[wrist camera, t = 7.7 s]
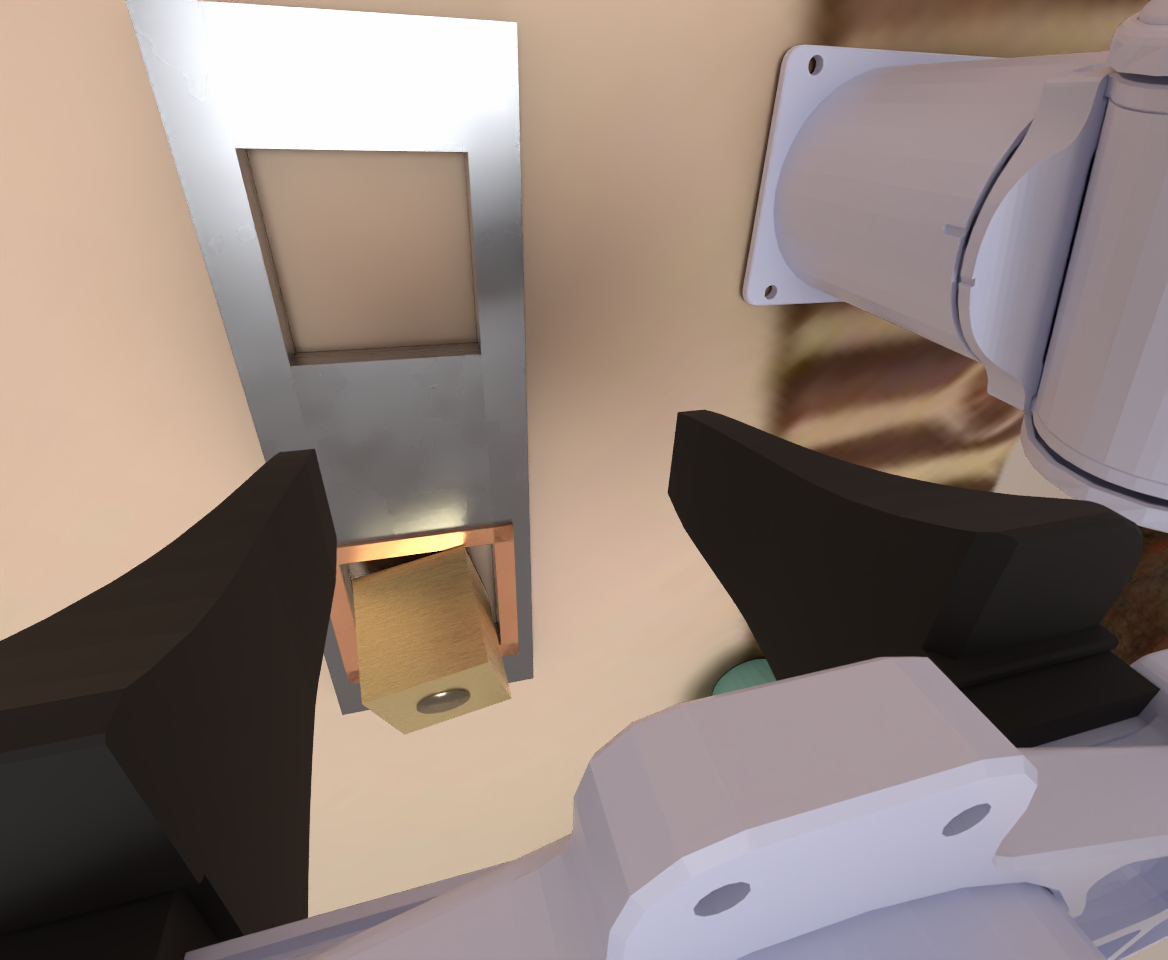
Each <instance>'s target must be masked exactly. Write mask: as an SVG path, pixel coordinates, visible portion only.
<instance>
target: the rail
mask: <svg viewBox="0 0 1168 960" xmlns="http://www.w3.org/2000/svg"><path fill="white" fill-rule="evenodd" d="M125 1H126V4H127V7H128V11H129V14H130V17H131V20H132V24H133V27H134V30H135V34H136V37H137V40H138V44H139V47H140V50H141V53H142V57H143V60H144V63H145V67H146V70H147V73H148V76H149V80H150V83H151V86H152V90H153V93H154V96H155V99H156V103H157V106H158V109H159V113H160V116H161V119H162V123H163V126H164V129H165V132H166V136H167V139H168V142H169V146H170V149H171V152H172V155H173V159H174V162H175V165H176V169H177V172H178V175H179V178H180V182H181V185H182V188H183V192H184V195H185V198H186V201H187V205H188V208H189V211H190V215H191V218H192V221H193V225H194V228H195V231H196V234H197V238H198V241H199V244H200V248H201V251H202V254H203V257H204V261H205V264H206V267H207V271H208V274H209V277H210V280H211V284H212V287H213V290H214V294H215V297H216V300H217V304H218V307H219V310H220V313H221V317H222V320H223V323H224V327H225V330H226V333H227V336H228V340H229V343H230V346H231V350H232V353H233V356H234V359H235V363H236V366H237V369H238V373H239V376H240V379H241V383H242V386H243V389H244V392H245V396H246V399H247V402H248V406H249V409H250V412H251V415H252V419H253V422H254V425H255V429H256V432H257V435H258V438H259V442H260V445H261V448H262V452H263V455H264V458H265V462H267V461H269V460H270V459H271V458H272V457H273V456H275V455H276V454H277V453H279V452H287V451H297V450H307V449H315V451H316V455H317V459H318V463H319V467H320V471H321V475H322V479H323V483H324V487H325V491H326V496H327V500H328V504H329V508H330V512H331V516H332V520H333V524H334V528H335V532H336V536H337V564H336V584H335V590H334V596H333V602H332V608H331V614H330V620H329V625H328V631H327V636H326V642H325V648H324V656H325V659H326V662H327V666H328V669H329V672H330V675H331V679H332V682H333V685H334V689H335V692H336V695H337V698H338V702H339V705H340V708H341V712H342V715H344V714H350V713H355V712H360V711H365V710H370V709H368V708H367V707H365V706H364V705H363V704H362V699H361V686H360V673H359V661H358V648H357V635H356V622H355V610H354V597H353V587H352V583H351V579H350V574H349V570H348V566H347V563H354V562H362V561H369V560H376V559H384V558H391V557H398V556H406V555H413V554H420V553H428V552H435V551H442V550H449V549H453V548H457V547H460V546H463V545H464V547H471V546H479V545H486V544H492V556H493V570H494V584H495V599H496V613H497V623H495V624H494V625H495V629H496V633H497V638H498V642H499V646H500V651H501V655H502V659H503V664H504V668H505V672H506V677H507V681H508V683H511V682H516V681H521V680H526V679H531V678H533V643H532V603H531V563H530V523H529V483H528V443H527V403H526V363H525V324H524V284H523V244H522V204H521V164H520V124H519V84H518V44H517V22H505V21H490V20H475V19H461V18H446V17H431V16H416V15H402V14H387V13H372V12H358V11H343V10H328V9H314V8H299V7H284V6H270V5H255V4H240V3H225V2H211V1H196V0H125ZM246 148H257V149H317V150H378V151H439V152H464V154H465V168H466V183H467V197H468V211H469V226H470V240H471V254H472V269H473V283H474V297H475V312H476V326H477V340H478V343H460V344H443V345H426V346H408V347H391V348H374V349H356V350H339V351H322V352H304V353H295V349H294V345H293V341H292V337H291V332H290V328H289V324H288V320H287V316H286V312H285V308H284V304H283V300H282V296H281V291H280V287H279V283H278V279H277V275H276V271H275V267H274V263H273V259H272V255H271V250H270V246H269V242H268V238H267V234H266V230H265V226H264V222H263V218H262V214H261V209H260V205H259V201H258V197H257V193H256V189H255V185H254V181H253V177H252V173H251V168H250V164H249V160H248V156H247V152H246Z"/></svg>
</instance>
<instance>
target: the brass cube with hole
mask: <svg viewBox="0 0 1168 960" xmlns="http://www.w3.org/2000/svg"><path fill="white" fill-rule="evenodd" d="M352 584H353V597H354V610H355V622H356V635H357V648H358V661H359V673H360V686H361V699H362V704H363V705H364V706H365V707H367V708H368V709H370V710H371V711H372V712H374V713H375V714H377V715H378V716H379V717H381V718H382V719H384V720H385V721H386V722H388V723H389V724H391V725H392V726H393V727H395V728H396V729H398V730H399V731H400V732H402V733H403V734H408V733H411V732H413V731H416V730H419V729H422V728H425V727H428V726H431V725H434V724H437V723H440V722H443V721H446V720H449V719H452V718H455V717H458V716H461V715H464V714H467V713H470V712H472V711H475V710H478V709H481V708H484V707H487V706H490V705H493V704H496V703H499V702H502V701H505V700H508V699H511V694H510V690H509V685H508V681H507V677H506V672H505V668H504V664H503V659H502V655H501V651H500V646H499V642H498V638H497V633H496V629H495V625H494V620H493V616H492V612H491V607H490V603H489V599H488V594H487V592H486V590H485V588H484V586H483V584H482V582H481V580H480V578H479V576H478V574H477V572H476V570H475V568H474V566H473V564H472V561H471V559H470V557H469V555H468V553H467V551H466V549H465V547H464V545H463V546H460V547H457V548H453V549H450V550H447V551H444V552H440V553H437V554H434V555H431V556H427V557H424V558H421V559H417V560H414V561H411V562H408V563H404V564H401V565H398V566H395V567H391V568H388V569H385V570H381V571H378V572H375V573H372V574H368V575H365V576H362V577H359V578H355V579H352Z"/></svg>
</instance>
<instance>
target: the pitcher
mask: <svg viewBox="0 0 1168 960" xmlns="http://www.w3.org/2000/svg"><path fill="white" fill-rule="evenodd" d="M1137 526H1138V527H1139V529H1140V530H1141V532H1142V537H1143V552H1142V555H1141V558H1140V561H1139V564H1138V566H1137V568H1136V570H1135V571H1134V573H1133V575H1132V576H1131V578H1130V580H1129V581H1128V583H1127V584H1126V586H1125V587H1124V589H1123V590H1122V591H1121V593H1120V594H1119V596H1118V597H1117V599H1116V600H1115V602H1114V603H1113V604H1112V606H1111V607H1110V609H1109V610H1108V612H1107V613H1106V615H1105V616H1104V617H1103V619H1102V620H1101V622H1100V623H1099V624H1100V625H1101V626H1103V627H1104V628H1105V629H1107V630H1108V631H1110V632H1111V633H1112V634H1114V635H1115V636H1116V637H1117V638H1118V641H1119V644H1118V645H1117V647H1116V648H1115V649H1113V650H1109V651H1111V652H1112V653H1113V654H1115V655H1116V656H1117V657H1119V658H1120V659H1121V660H1123V661H1124V662H1125V663H1127V664H1128V665H1129V666H1130V665H1131V664H1132V663H1134V662H1135V661H1137V660H1138V659H1140V658H1141V657H1143V656H1146V655H1148V654H1150V653H1154V652H1158V651H1161V650H1165V649H1168V533H1166V532H1161V531H1157V530H1153V529H1149V528H1146V527H1142V526H1139V525H1137Z"/></svg>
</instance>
